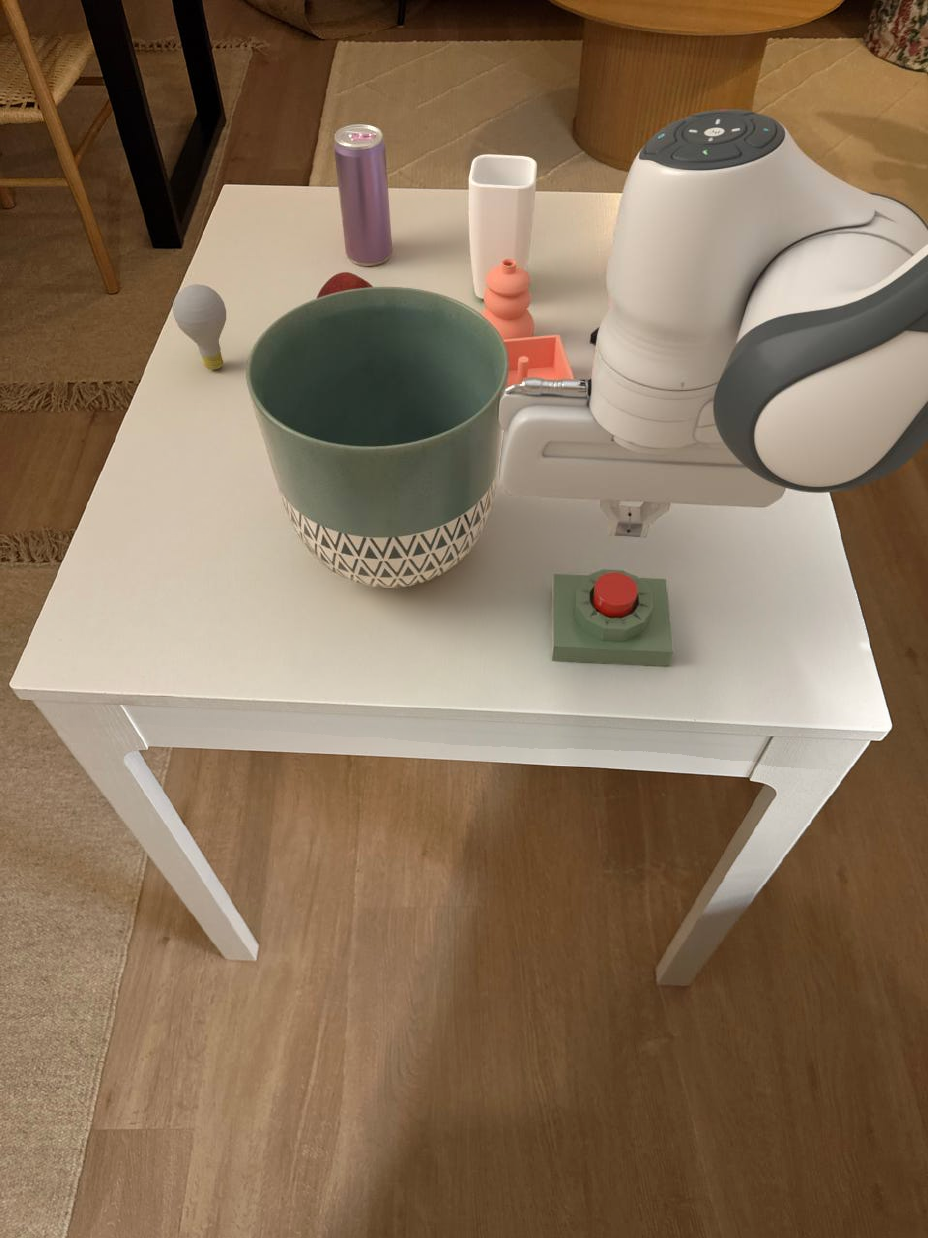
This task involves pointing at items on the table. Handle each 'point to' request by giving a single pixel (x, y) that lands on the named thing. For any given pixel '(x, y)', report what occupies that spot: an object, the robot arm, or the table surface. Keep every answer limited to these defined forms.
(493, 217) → the cup
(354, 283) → the apple
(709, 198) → the robot arm
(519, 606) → the table surface
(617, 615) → the button
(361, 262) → the beverage can
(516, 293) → the pottery
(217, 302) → the light bulb
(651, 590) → the control block
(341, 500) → the planter
